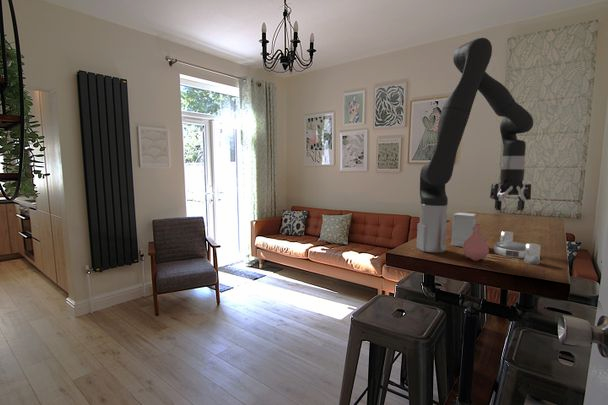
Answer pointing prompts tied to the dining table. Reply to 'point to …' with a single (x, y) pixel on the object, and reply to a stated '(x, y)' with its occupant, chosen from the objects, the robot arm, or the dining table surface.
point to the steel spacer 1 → (506, 236)
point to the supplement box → (462, 228)
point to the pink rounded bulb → (475, 245)
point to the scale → (510, 249)
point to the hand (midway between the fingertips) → (509, 210)
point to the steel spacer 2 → (532, 253)
